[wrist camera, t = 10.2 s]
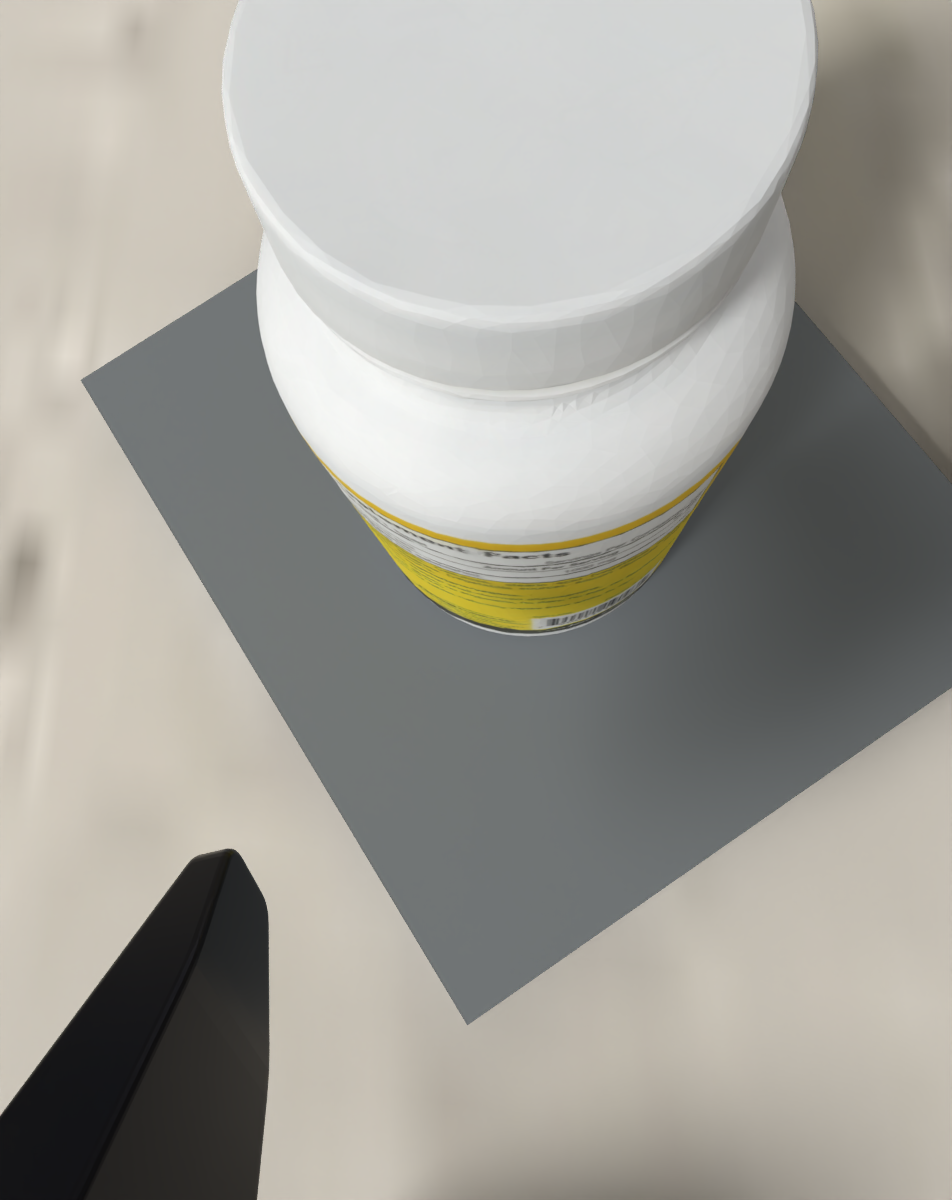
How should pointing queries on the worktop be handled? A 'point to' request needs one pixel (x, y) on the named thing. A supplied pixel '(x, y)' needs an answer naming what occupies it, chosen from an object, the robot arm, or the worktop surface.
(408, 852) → the mat
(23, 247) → the worktop surface
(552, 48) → the pill bottle
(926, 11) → the worktop surface
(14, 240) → the worktop surface
